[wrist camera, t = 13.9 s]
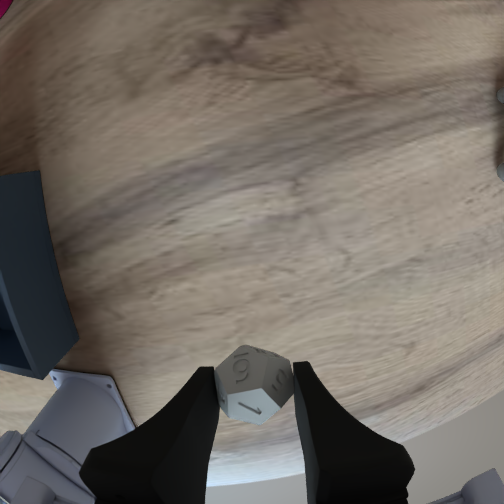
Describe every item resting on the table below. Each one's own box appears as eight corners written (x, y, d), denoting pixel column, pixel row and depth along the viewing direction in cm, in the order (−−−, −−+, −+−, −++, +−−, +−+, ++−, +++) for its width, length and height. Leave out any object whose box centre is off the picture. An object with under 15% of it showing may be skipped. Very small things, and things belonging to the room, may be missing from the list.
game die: (244, 317, 13) (238, 357, 10) (308, 358, 14) (316, 401, 11) (201, 366, 14) (189, 408, 11) (262, 401, 15) (261, 444, 12)
